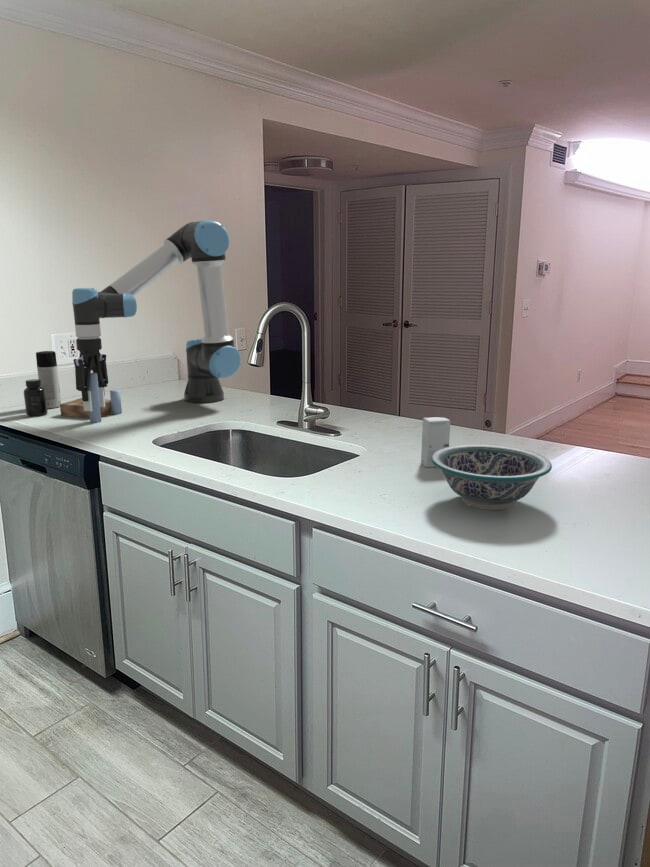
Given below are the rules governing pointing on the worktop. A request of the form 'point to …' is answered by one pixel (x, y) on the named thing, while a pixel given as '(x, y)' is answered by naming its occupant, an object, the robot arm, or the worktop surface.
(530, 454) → the bowl
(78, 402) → the collar block
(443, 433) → the skincare box
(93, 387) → the long dowel
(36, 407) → the supplement bottle
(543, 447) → the worktop surface
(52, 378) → the spray can
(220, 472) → the worktop surface
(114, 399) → the short dowel
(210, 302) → the robot arm
